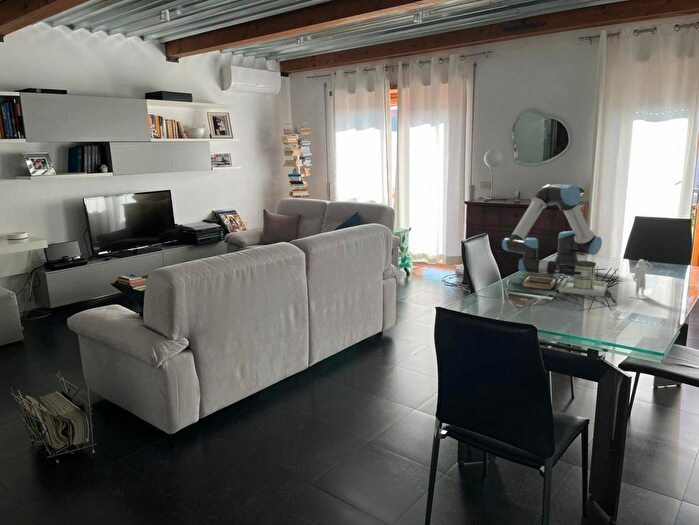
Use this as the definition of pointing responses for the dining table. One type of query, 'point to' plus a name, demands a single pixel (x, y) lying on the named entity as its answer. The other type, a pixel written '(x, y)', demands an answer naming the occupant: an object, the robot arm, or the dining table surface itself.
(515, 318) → the dining table surface
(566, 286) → the tray
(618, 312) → the dining table surface
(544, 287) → the wooden frame
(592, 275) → the coffee can
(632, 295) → the female figurine
